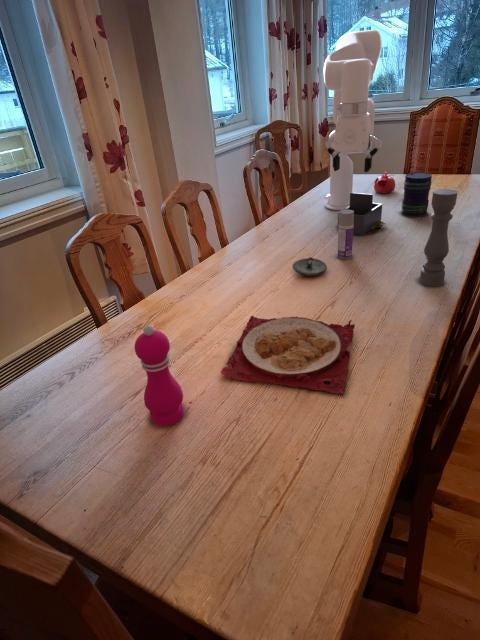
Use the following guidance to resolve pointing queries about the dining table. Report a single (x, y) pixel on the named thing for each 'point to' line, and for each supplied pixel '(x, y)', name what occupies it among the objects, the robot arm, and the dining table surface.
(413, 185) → the storage jar
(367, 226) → the bin
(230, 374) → the plate with food
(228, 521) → the dining table surface
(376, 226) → the lily flower
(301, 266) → the lid
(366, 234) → the turntable
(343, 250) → the container
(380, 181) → the pomegranate
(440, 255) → the candle holder
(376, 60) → the robot arm
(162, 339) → the pepper mill
